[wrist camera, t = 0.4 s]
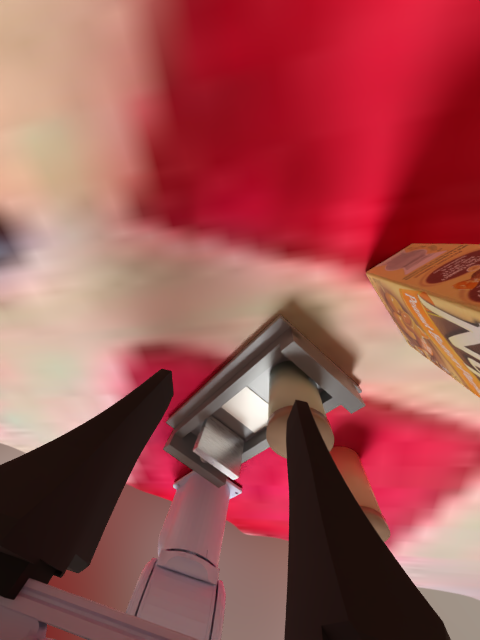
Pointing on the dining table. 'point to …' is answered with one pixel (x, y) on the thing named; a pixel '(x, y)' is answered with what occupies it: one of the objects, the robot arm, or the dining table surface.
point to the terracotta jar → (360, 487)
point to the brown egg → (283, 392)
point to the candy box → (436, 304)
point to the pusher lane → (255, 395)
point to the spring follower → (220, 447)
